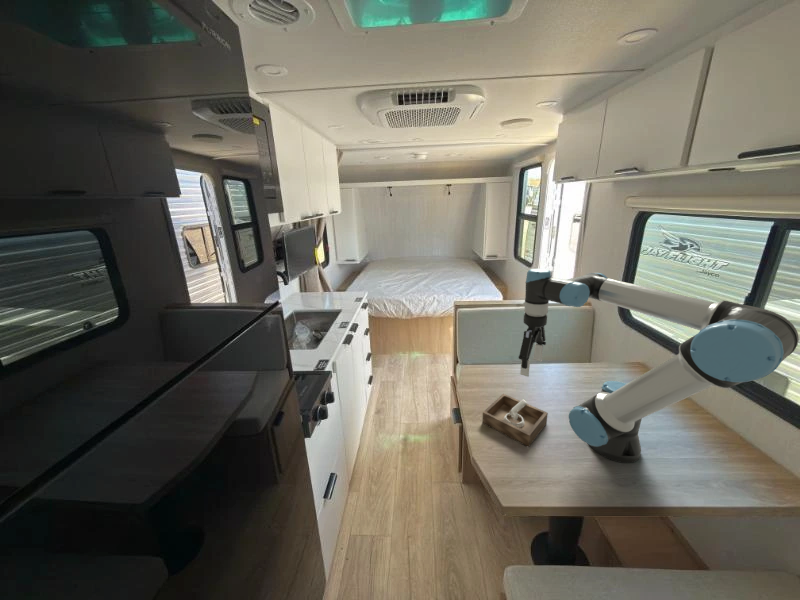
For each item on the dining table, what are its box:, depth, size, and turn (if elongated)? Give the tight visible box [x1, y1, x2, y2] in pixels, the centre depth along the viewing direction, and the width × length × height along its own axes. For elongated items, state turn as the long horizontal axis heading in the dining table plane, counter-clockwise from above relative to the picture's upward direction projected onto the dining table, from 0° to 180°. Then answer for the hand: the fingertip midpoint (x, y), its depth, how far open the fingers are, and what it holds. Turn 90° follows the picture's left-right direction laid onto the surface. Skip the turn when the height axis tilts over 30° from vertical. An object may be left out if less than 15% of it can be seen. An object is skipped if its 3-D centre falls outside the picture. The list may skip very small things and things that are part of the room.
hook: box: [503, 399, 528, 428], centre depth 116 cm, size 8×12×7 cm
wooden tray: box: [482, 393, 549, 448], centre depth 117 cm, size 18×16×5 cm
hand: (531, 367), depth 113 cm, fingers open, 13 cm apart
